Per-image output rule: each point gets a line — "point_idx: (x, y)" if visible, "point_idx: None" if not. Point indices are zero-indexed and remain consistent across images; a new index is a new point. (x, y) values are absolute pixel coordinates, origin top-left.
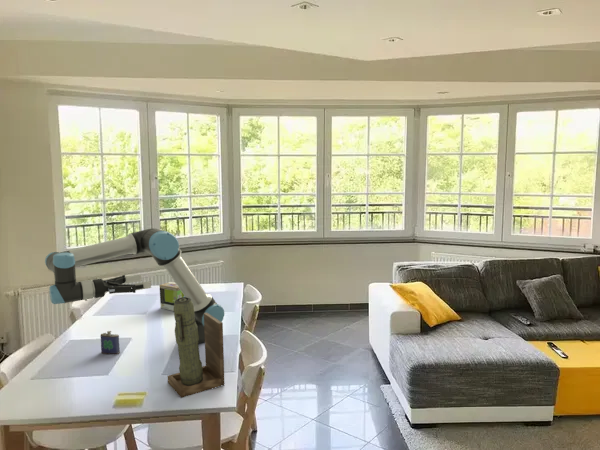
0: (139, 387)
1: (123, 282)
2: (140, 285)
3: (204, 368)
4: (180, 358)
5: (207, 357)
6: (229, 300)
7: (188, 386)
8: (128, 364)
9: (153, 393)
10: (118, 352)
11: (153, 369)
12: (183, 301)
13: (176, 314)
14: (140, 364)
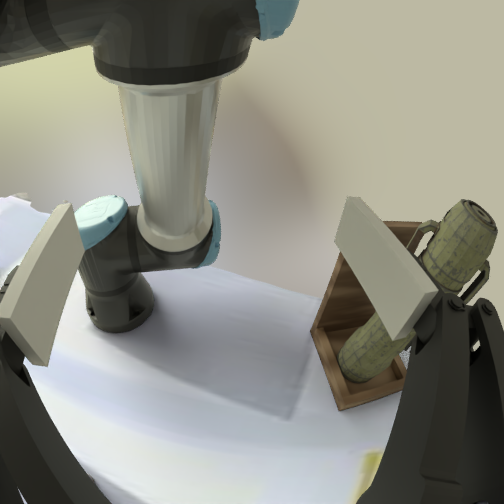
0: (341, 468)
1: (31, 387)
2: (424, 267)
3: (324, 333)
4: (400, 351)
5: (333, 312)
6: (27, 217)
7: (399, 369)
8: (181, 483)
9: (378, 438)
10: (91, 479)
11: (249, 434)
12: (487, 216)
13: (484, 263)
14: (198, 457)
